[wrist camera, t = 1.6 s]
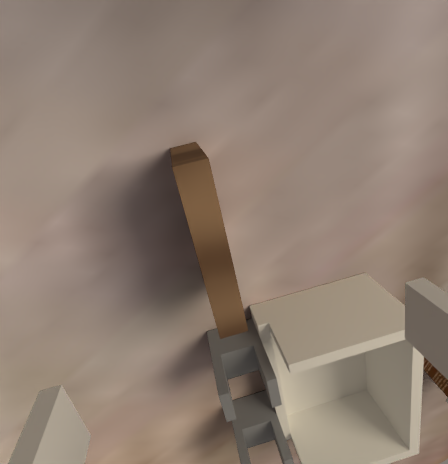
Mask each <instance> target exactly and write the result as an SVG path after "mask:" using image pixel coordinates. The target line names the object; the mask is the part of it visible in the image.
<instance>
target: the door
mask: <svg viewBox="0 0 448 464" xmlns="http://www.w3.org/2000/svg"><path fill="white" fill-rule="evenodd" d="M170 151H171V161H172V169H173V172H174V176H175V179H176V183H177V186H178V190H179V194H180V197H181V201H182V204H183V208H184V211H185V215H186V219H187V222H188V226H189V229H190V233H191V236H192V240H193V244H194V247H195V251H196V254H197V258H198V261H199V265H200V269H201V272H202V276H203V279H204V283H205V286H206V290H207V294H208V297H209V301H210V304H211V308H212V311H213V315H214V319H215V322H216V326H217V329H218V333H219V336H220V339H222V338H226V337H229V336H233V335H236V334H240V333H243V332H246V331H248V327H247V323H246V318H245V314H244V310H243V305H242V301H241V297H240V292H239V288H238V284H237V279H236V275H235V271H234V266H233V262H232V258H231V253H230V249H229V245H228V240H227V236H226V232H225V227H224V223H223V219H222V214H221V210H220V206H219V201H218V197H217V193H216V188H215V184H214V180H213V175H212V171H211V167H210V162H209V158H208V157H207V156H206V154H205V153H204V152H203V150H202V149H201V148H200V147H199V145H198V144H197V143H196V142H193V143H189V144H185V145H181V146H177V147H173V148H170Z"/></svg>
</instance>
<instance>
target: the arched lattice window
mask: <svg viewBox="0 0 448 464" xmlns="http://www.w3.org/2000/svg"><path fill="white" fill-rule="evenodd" d="M423 370H424V371H425V372H426V373H427V374H428V375H429V376H430V378H431V379H432V380H433V381H434V382H435V383H436V384H437V386H438V387H439V388H440V389H441V390H442V391H443V392H444V394H445V395H446V396H447V397H448V380H447V379H446V378H445V377H444V376H443V375H442V374H441V373H440V372H439V371H438V370H437V369H436V368H435V367H434V366H433V365H432V364H431V363H430V362H429V361H428V360H427V359H426V358H425V357H424V365H423ZM446 402H448V398H447V399H446Z"/></svg>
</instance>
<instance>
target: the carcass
mask: <svg viewBox="0 0 448 464" xmlns="http://www.w3.org/2000/svg"><path fill="white" fill-rule="evenodd" d="M250 311H251V315H252V318H251V319H248V320H246V323H247V327H248V331H246V332H243V333H240V334H236V335H233V336H229V337H226V338H222V339H220V336H219V333H218V329H213V330H210V331H207V335H208V341H209V346H210V352H211V357H212V362H213V368H214V373H215V379H216V384H217V390H218V395H219V399H220V402H221V405H222V408H223V411H224V415H225V418H226V421H227V422H229V421H232V424H233V429H234V434H235V438H236V443H237V448H238V453H239V457H240V462H241V464H251V462H250V458H249V453H248V449H247V448H250V447H253V446H256V445H259V444H262V443H266V442H269V441H272V440H275V441H276V444H277V447H278V450H279V453H280V457H281V460H282V463H283V464H294V462H293V458H292V455H291V452H290V449H289V447H288V444H287V441H286V440H289V439H292V442H293V444H294V447H295V450H296V452H297V455H298V458H299V460H300V463H301V464H389V463H392V462H395V461H398V460H401V459H404V458H407V457H410V456H413V455H416V454H419V442H420V423H421V404H422V384H423V365H424V356H423V355H422V354H421V353H420V352H419V351H418V350H417V349H415V348H414V347H413V346H412V345H411V344H410V343H409V342H408V341H407V340H406V339H405V305H403V304H402V303H401V302H400V301H399V300H397V299H396V298H395V297H394V296H393V295H391V294H390V293H389V292H388V291H387V290H386V289H384V288H383V287H382V286H381V285H380V284H378V283H377V282H376V281H375V280H374V279H372V278H371V277H370V276H369V275H368V274H367V273H363V274H359V275H356V276H352V277H349V278H345V279H342V280H338V281H335V282H331V283H328V284H324V285H321V286H317V287H314V288H310V289H307V290H303V291H300V292H296V293H293V294H289V295H286V296H283V297H279V298H276V299H272V300H269V301H265V302H262V303H258V304H255V305H251V306H250ZM257 370H259V371H260V374H261V377H262V380H263V383H264V385H265V388H266V390H265V391H262V392H258V393H255V394H252V395H249V396H245V397H242V398H239V399H236V400H233V401H232V397H231V393H230V388H229V384H228V379H231V378H234V377H237V376H241V375H244V374H247V373H250V372H254V371H257Z"/></svg>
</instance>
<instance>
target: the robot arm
mask: <svg viewBox="0 0 448 464" xmlns="http://www.w3.org/2000/svg"><path fill="white" fill-rule="evenodd" d="M405 339H406V340H407V341H408V342H409V343H410V344H411V345H412V346H413V347H414V348H415V349H417V350H418V351H419V352H420V353H421V354H422V355H423V356H424V357H425V358H426V359H427V360H428V361H429V362H430V363H431V364H432V365H433V366H434V367H435V368H436V369H437V370H438V371H439V372H440V373H441V374H442V375H443V376H444V377H445V378H446V379H447V380H448V293H446V292H445V291H443V290H442V289H440V288H439V287H437V286H436V285H434V284H433V283H431V282H430V281H428V280H427V279H425V278H424V277H423V278H420V279H417V280H413V281H410V282H406V283H405ZM90 438H91V434H90V433H89V431H88V429H87V427H86V426H85V424H84V422H83V421H82V419H81V417H80V415H79V414H78V412H77V410H76V408H75V407H74V405H73V403H72V402H71V400H70V398H69V396H68V395H67V393H66V391H65V390H64V388H63V386H62V385H59V386H55V387H52V388H48V389H45V390H42V391H40V392H39V394H38V396H37V398H36V401H35V403H34V405H33V408H32V410H31V412H30V415H29V417H28V419H27V421H26V424H25V426H24V428H23V431H22V433H21V435H20V437H19V440H18V442H17V444H16V447H15V449H14V451H13V454H12V456H11V458H10V460H9V463H8V464H85V460H86V456H87V451H88V447H89V442H90Z"/></svg>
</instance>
